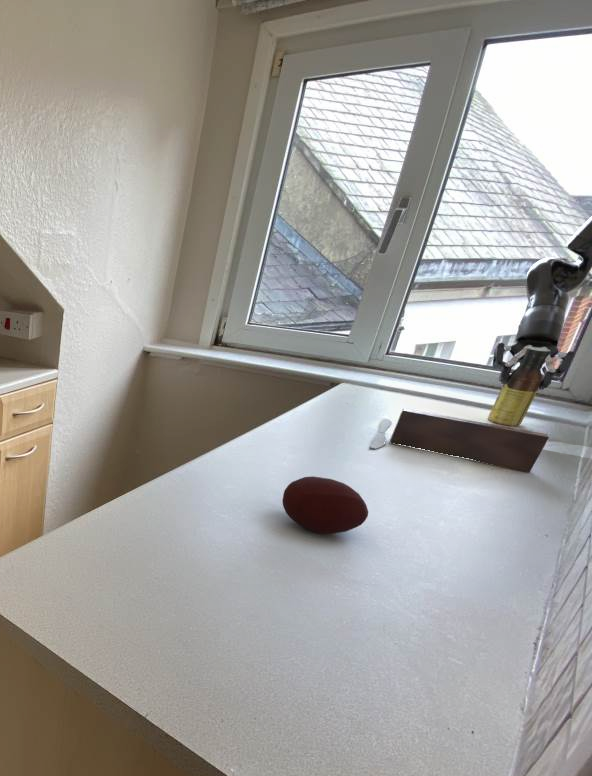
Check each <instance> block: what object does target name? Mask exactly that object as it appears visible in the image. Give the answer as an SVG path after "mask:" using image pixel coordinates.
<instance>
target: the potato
mask: <svg viewBox="0 0 592 776" xmlns="http://www.w3.org/2000/svg"><path fill="white" fill-rule="evenodd" d="M281 502H282V506H283V509H284V512H285V513H286V515H287V516H288V517H289V518H290V519H291V520H292V521H293V522H295V523H296V525H299V526H301V527H302V528H304V529H307V530H309V531H312V532H314V533H317V534H325V535H330V534H337V533H346V532H348V531H350V530H351V531H352V530H353V529H356V528H358V527H360V526H362V525H363V524H364V523H365V521H366V520H367V519H368V516H369V509H368V506H367V503H366V502H365V500H364V499H363V498H362V495H360V493H359V492H357V491H356V490H354V489H353V488H352V487H351V486H349V485H348V484H346V483H345V482H341V481H339V480H335V479H332V478H327V477H322V476H321V477H319V476H314V475H313V476H304V477H301V478H298V479H296V480H294V481H291V482H290V483H289V484H288V485H287V486H286V488H285V489H284V491H283V495H282V501H281Z"/></svg>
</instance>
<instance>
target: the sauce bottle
mask: <svg viewBox="0 0 592 776" xmlns="http://www.w3.org/2000/svg"><path fill="white" fill-rule="evenodd" d="M549 354H550V350H549V349H544V348H537V347H528V348H527V350H526V352H525V356H524V358H523V360H522V362H521V363H519V365H518V366H517V367H516V368H515V369H514V370H513V371H512V372H510V375H509V378H508V381H507V382H506V383H505V384H502V386H501V389H500V391H499V394H498V395H497V397H496V399H495V401H494V403H493V406H492V408H491V410H490V412H489V414H488V416H487V420H488V421H489V422H491V423H493V424H496V425H500V426H505V427H519V426H520V425H521V424H522V423H523V421H524V419H525V417H526V415H527V413H528V412H529V409H530V407H531V405H532V403H533V402H534V400H535V397H536V395H537V393H538V391H539V386H540V384H541V382H542V377H543V374H542V372H541V368H542V365H543V363H544V361H545V359H546V358H547V357H548V356H549Z"/></svg>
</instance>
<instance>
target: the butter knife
mask: <svg viewBox="0 0 592 776" xmlns="http://www.w3.org/2000/svg"><path fill="white" fill-rule="evenodd" d="M391 425H392V420H391V419H389V418H382V419H381V420H380V423H379V428H378V431H377V433H376V434H375V436H374V438H373V439H372V441H371V444H370V446H369V448H371V449H374V450H376V449H379V448H381V447H383V446H384V442H385V440H387V439H386V433H385V432H386V431H387V429H388V428H389V427H390V426H391ZM385 443H386V442H385ZM382 445H383V446H382Z"/></svg>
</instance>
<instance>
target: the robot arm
mask: <svg viewBox="0 0 592 776" xmlns="http://www.w3.org/2000/svg"><path fill="white" fill-rule="evenodd" d="M565 247H566V249H568V250H569V251H570V252H572V253H574V254H575V255H577V256H578V257H577V260H576V261H575V262H571V261H566V260H564V259H560V258H556V257H545V258H542V259H539V260H538V261H537V262H535V263H534V264H533V265H532V266H530V268H529V270H528V271H527V273H526V277H525V291H526V298H527V305H526V308H525V311H524V314H523V316H522V318H521V320H520V322H519V325H518V327H517V332H516V336H515V339H514V342H513V344H512V345H507V344H505V342H500V343H498V344H497V345H496V347H495V348H494V350H493V357H492V364H491V365H492V366H491V367H492V368H493V369H499V370H500V374H499V376H498V381H499V382H500V385H503V384H505V383H506V382H507V381H508V378H509V375H510V374H511V373H512V372H511V371H512V369H513V368H514V367H515V366H516V365H517V364H520V363H521V362H522V360H523V358H524V356H525V352H526V350H527V348H528V347H537V348H544V349H549V350H550V354H549V356H548V357H547V358H546V359H545V361H544V363H543V365H542V368H541V374H542V382H541V384H540V386H539V388H538V391H544V389H548V387H550V385H551V384H552V381H553V377H556V378H561V377H562V376H563V374H565V373H566V372H567V370H568V368H569V366H570V364H571V362H572V360H573V358H574V356H575V351H573V350H569V351H567V352H565V351H559V348H558V345H559V342H560V339H561V335H562V331H563V328H564V323H565V319H566V311H567V308H568V305H569V302H570V295H569V294H568V293H570V292H573V291H575V290H576V289H578V288H580V286H581V285H582V284H583V283H584V282H585V280H586V279H587V277H588V276H589V273H590V272H591V270H592V216H591V217H589V219H587V221H586V222H585V223H583V225H582V226H581V227H580V228H579V229H578V230H577V231H576V232H575V233H574V234H573V235H572V236H571V237H570V238H569V239H568V240H567V242H566V245H565ZM507 352H509V353H510V354H511V355H512V358H510V359H508V360H507V361H506V362H505V361H504V355H505V354H506V353H507ZM555 357H556V358H557V361H558V363H559V364H558V367H557V368H555V366H554V360H553V358H555Z"/></svg>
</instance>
